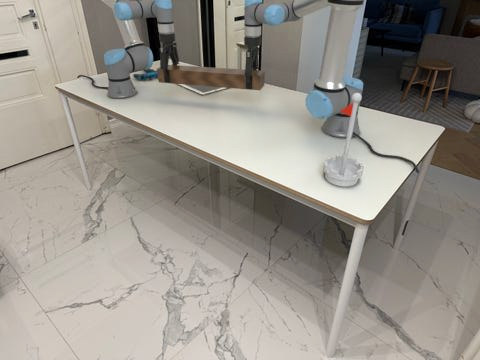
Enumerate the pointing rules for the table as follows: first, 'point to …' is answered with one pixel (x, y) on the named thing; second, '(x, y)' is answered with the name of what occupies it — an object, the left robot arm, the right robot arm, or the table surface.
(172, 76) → the slab
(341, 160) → the flag stand
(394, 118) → the table surface
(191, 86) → the tablet
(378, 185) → the table surface
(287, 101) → the table surface
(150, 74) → the submachine gun
